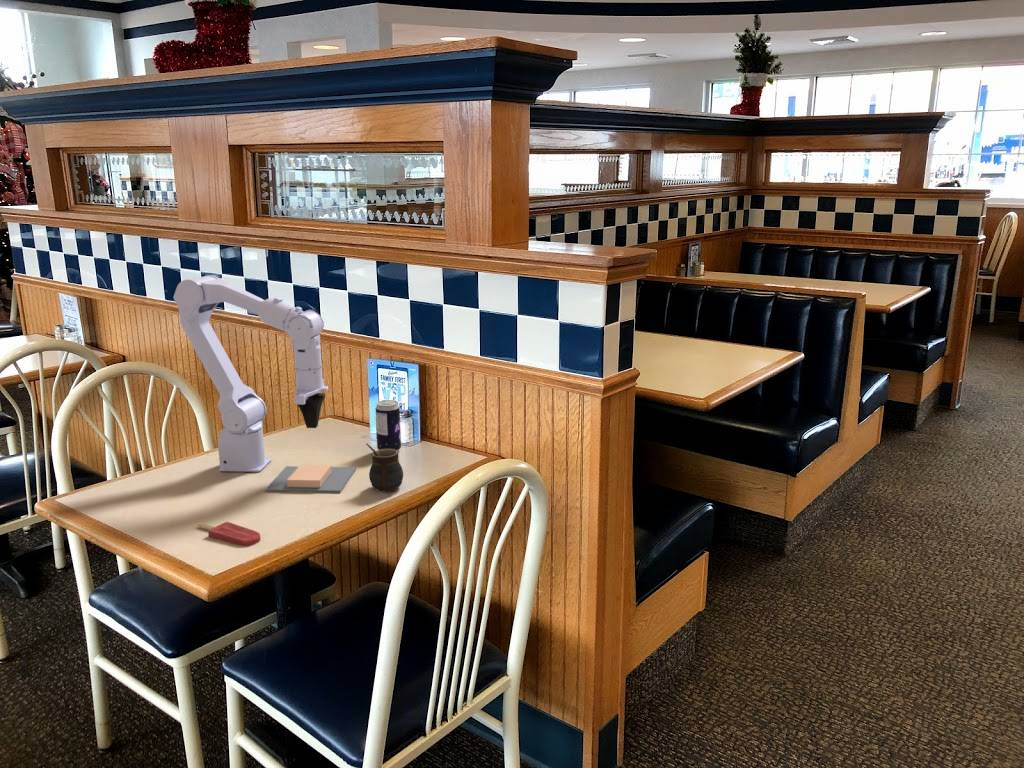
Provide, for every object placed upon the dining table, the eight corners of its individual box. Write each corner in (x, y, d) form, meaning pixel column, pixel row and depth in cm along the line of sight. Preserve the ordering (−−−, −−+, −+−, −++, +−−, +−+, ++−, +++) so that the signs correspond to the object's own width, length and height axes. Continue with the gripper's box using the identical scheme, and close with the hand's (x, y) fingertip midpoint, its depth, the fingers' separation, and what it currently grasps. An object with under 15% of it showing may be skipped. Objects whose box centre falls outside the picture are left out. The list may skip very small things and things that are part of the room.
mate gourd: (403, 494, 170) (400, 448, 168) (366, 495, 170) (363, 450, 167) (405, 481, 177) (403, 437, 175) (370, 482, 177) (367, 438, 174)
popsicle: (207, 515, 157) (265, 532, 150) (208, 523, 157) (266, 541, 150) (188, 524, 153) (247, 542, 146) (189, 532, 153) (247, 550, 146)
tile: (300, 472, 181) (287, 487, 173) (300, 465, 181) (286, 479, 172) (331, 473, 181) (320, 488, 172) (331, 465, 180) (319, 480, 172)
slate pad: (265, 491, 172) (265, 489, 172) (286, 468, 186) (286, 466, 185) (340, 492, 171) (340, 490, 171) (356, 469, 185) (356, 467, 185)
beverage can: (399, 454, 194) (397, 406, 191) (375, 454, 194) (373, 406, 191) (402, 447, 200) (401, 399, 197) (379, 447, 200) (377, 399, 197)
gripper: (316, 375, 170) (320, 437, 174) (335, 360, 184) (338, 418, 188) (283, 375, 171) (287, 437, 174) (305, 359, 185) (308, 417, 188)
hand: (312, 427), depth 181 cm, fingers closed
